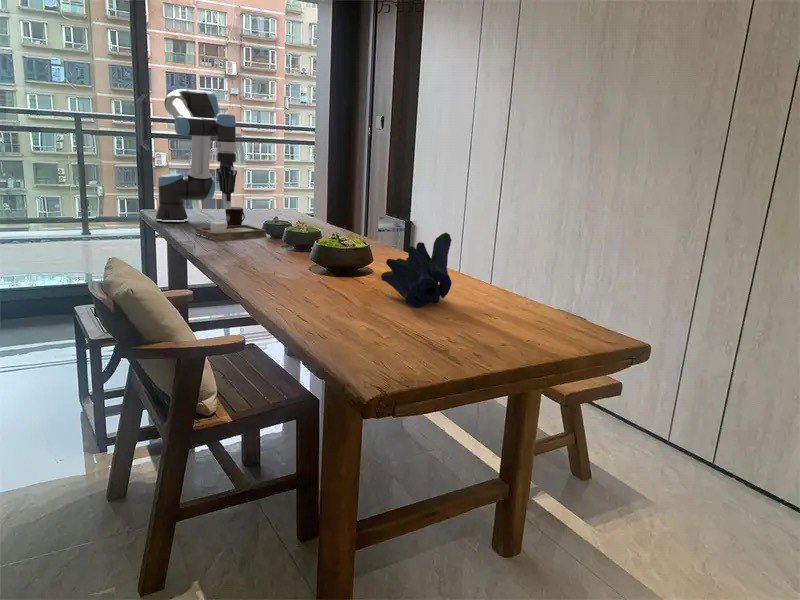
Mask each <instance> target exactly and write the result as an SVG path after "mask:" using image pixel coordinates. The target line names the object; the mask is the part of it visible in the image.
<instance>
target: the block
mask: <svg viewBox="0 0 800 600" xmlns="http://www.w3.org/2000/svg"><path fill="white" fill-rule="evenodd" d="M210 227H211V232H212V233H227V222H223V221H214V222H213V221H212V222H210Z"/></svg>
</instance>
